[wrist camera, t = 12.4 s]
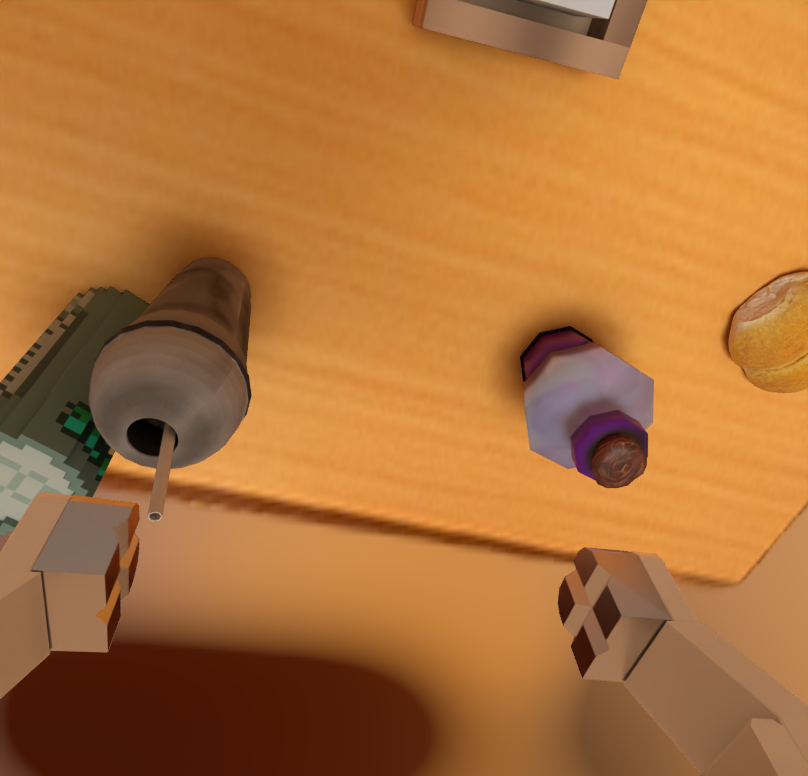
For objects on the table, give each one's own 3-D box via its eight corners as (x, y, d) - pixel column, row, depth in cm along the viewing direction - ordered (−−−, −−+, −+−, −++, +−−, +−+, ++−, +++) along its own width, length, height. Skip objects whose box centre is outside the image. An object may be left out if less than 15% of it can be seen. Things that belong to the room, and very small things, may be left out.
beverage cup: (152, 227, 36) (-7, 423, 20) (276, 245, 38) (226, 444, 21) (156, 335, 40) (24, 577, 23) (269, 348, 41) (220, 587, 25)
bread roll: (761, 396, 48) (793, 426, 44) (704, 328, 44) (734, 355, 41) (861, 325, 45) (903, 352, 42) (809, 246, 41) (851, 268, 38)
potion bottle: (592, 415, 47) (661, 529, 37) (485, 404, 46) (526, 519, 35) (634, 314, 43) (726, 413, 32) (517, 298, 41) (574, 396, 31)
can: (133, 387, 42) (46, 554, 30) (47, 336, 40) (-88, 496, 27) (182, 327, 40) (110, 479, 27) (95, 269, 37) (-29, 408, 25)
